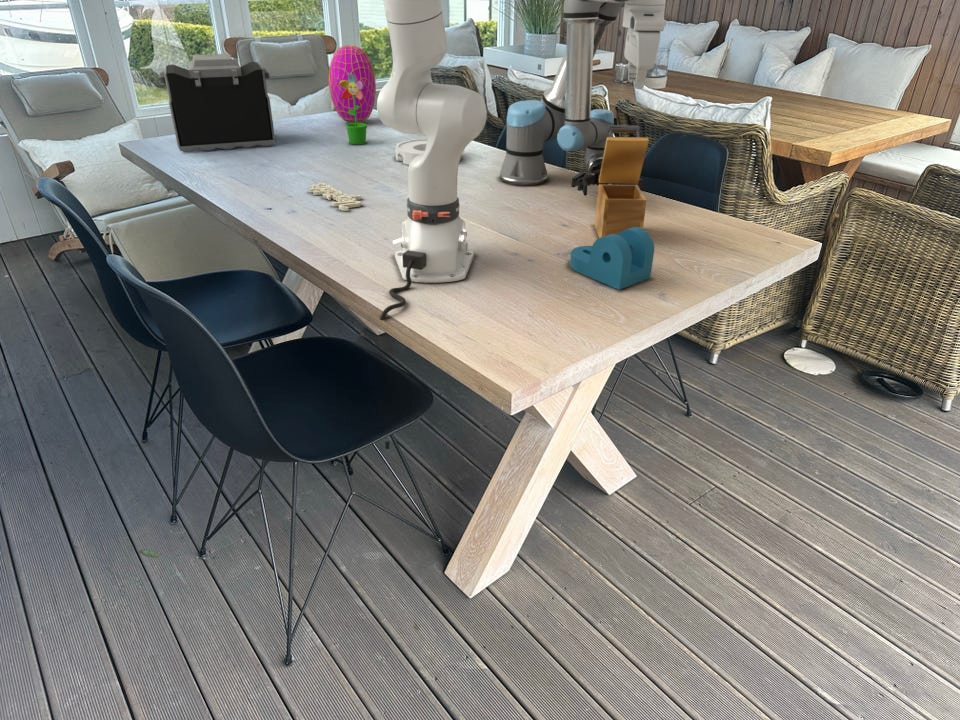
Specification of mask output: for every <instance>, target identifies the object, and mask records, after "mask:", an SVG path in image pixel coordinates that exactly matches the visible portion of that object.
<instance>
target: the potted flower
mask: <svg viewBox="0 0 960 720" xmlns="http://www.w3.org/2000/svg"><path fill="white" fill-rule="evenodd" d="M348 78H349V81H346V80H342V81H341V82H340V83H339V84H340V85H341V86H342V87H343V88H346V89H347V90H345V91H344V93H343V94H342V97H341V99H348V98H350V97H351V96H352V95H353V100H354V110H349V111H348V112H349V114H351V115H355V123H349V122H348V123H347V124H346V125H345V128H346V131H347V136H348V141H349V144H352V145H363V144H366V143H367V129H368V124H367V123H366V122H365V123H364V122H361V123H357V116H356V110H358V109H359V106H356V103H355V95H356V97H357V98H358V99H359V100H362V98H363V93H362V92H361V91H360V90H361V89H363V84H362V82H361V81H358V82H357V83H356V78H355V76H354V75H352V74H350V73H348Z"/></svg>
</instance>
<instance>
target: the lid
mask: <svg viewBox="0 0 960 720" xmlns="http://www.w3.org/2000/svg"><path fill="white" fill-rule="evenodd" d="M607 133H609V137H607V139H606V144H605V150H604V155H603V160H602V166H601V171H600V176H599V183H615V184H638V182H639V178H640V179H641V173H642V171H643V170H642V169H643V166H644V162H645V158H646V153H647V150H648V145H649V142H650V140H649V137H642V136H640V125H623V124H620V125H619V124H614V125H608V127H607ZM612 133H613V134H635V136H634V137H633V136H613V134H612Z"/></svg>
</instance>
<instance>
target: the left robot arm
mask: <svg viewBox="0 0 960 720" xmlns="http://www.w3.org/2000/svg"><path fill="white" fill-rule="evenodd" d="M382 1H383V7H384V14H385V20H386V24H387V29H388V34H389V40H390V46H391V55H392V69H391V74H390V76H389V79H388V81H387V82H386V83H385V84H384V85H383V86H382V88H381V89H380V91H379V93H378V96H377V101H376V110H377V114H378V118H379V120H380V122H381V123H382V124H383V125H384V126H386V127H388V128H390V129H392V130H394V131H396V132H398V133H402V134H406V135H407V134H408V135H412V136H413V135H414V136H420V137H425V139H427V144H426V149H425V152H423V153H421V154H419V155H418V156H416V157H415V158H414V159H413V160H412V161H411V162H410V164H409V165H408V168H407V184H408V186H407V187H408V198H407V199H406V211H407V213H406V214H407V217H406V218H405V219H404V220H403V221H402V223H401V231H402V237H399V238H397V239H395V240H392V244H393V245H395V244H398V243H401V244H400V247H401V249H400V250H397V251H395V252H394V259H395V262H396V264H397V267H398V269H399V272H400V274H401V277H402V279H403V280H405V281H406V284H405V285H404V286H402V287H393V288H390V290H389V295H390V297H392V298H394V299H396V300H398V301H400V302H398V303H397V302H396V303H394V304H391V305H388V306H387V307H385V308H384V309H383V310H382V312H381V314H380V317H379V320H380V321H384V320H385V319H386V317H387V315H388V314H389V312H391V311H393V310H396V309H399V308H403V307H404V306H405V305H406V303H407V302H406V301H407V300H406V299H405V297H403V296H402V295H399V294H397V293H400V292H404V291H407V290H409V289H410V288H411V286H412V282H414V283H431V284H433V283H435V284H437V283H451V282H457V281H461V280H464V279H466V277H467V274H468V273H469V269H470V267H471V265H472V262H473V260H474V257H475V251H473V250H471V249H468V245H469V243H468V242H467V241H466V238H467V236H468V232H467V231H466V221H465V220H464V219H463V218H461V216H460V208H461V207H460V206H461V205H460V198H459V197H458V175H459V174H458V173H459V166H460V160H461V159H460V158H462V155H463V153H464V152H465V150H466V148H467V147H468V145H469V144H470V143H471V142H472V141H474V140H475V139H477V138H478V137H479V136H480V134H481V133H482V132H483V131H484V128H485V126H486V123H487V118H488V112H487V111H488V110H487V105H486V103H485V100H484V98H483V96H482V95H481V94H480V93H479V92H477V91H474V90H472V89H470V88H466V87H464V86H461V85H454V84H443V83H436V82H434V81H433V80H432V69H433V68H434V67H436V66H437V65H439V64H440V63H441V62H442V61H443V60H444V58H445V56H446V54H447V50H448V41H447V34H446V27H445V22H444V14H443V7H442V1H441V0H382ZM580 1H584V2H592V1H598V2H610V3H621V2H625V5H624V7H623V14H622V15H623V16H622V23H621V24H622V28H626V29H627V30H626V36H625V37H626V38H625V44H624V50H623V51H624V52H623V54H624V59H625V60H627V62H628V63H627V64H628V65H627V66H628V67H627V68H628V70H627V71H628V76H627V81H628V82H629V83H634V88H635V89H636V90H643V89H644V87H645V81H646V78H647V75H648V70H653V69H654V67H655V65H656V61H657V57H658V53H659V52H658V51H659V48H660V47H659V46H660V43H661V35H662V34H661V32H664V30H665V26H666V20H665V13H666V12H665V10H666V3H667V1H666V0H580ZM384 444H385V445H384V446H385V450H389V449H391V446H390V440H387V441H385V442H384Z"/></svg>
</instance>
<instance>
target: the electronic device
mask: <svg viewBox="0 0 960 720" xmlns="http://www.w3.org/2000/svg"><path fill="white" fill-rule="evenodd" d="M187 66H188V68H187V69H186V68H184V67H181V66H179V65H176V64H165V66H164V71H161V72H159V83H161V84H165V85H166V89H167V94H168V107H169V111H170V115H171V120H172V125H173V130H174V135H175V140H176V144H177V148H178V150H179V152H183V153H192V152H194V151H198V150H202V151H204V152H209V151H213V150H215V149H222V150H233V149H235V148H236V147H238V148H239V147H242V148H245V149H247V148H251V149H252V148H253V147H255V146H262V147H272V146H273V145H275V144H276V135H275V134H276V133H275V128H274V119H273V114H272V105H271V99H270V96H269V95H268V88H267V87H268V85H267V79H270V78H271V76H270V72H269V71H268V70H267V68H265V67H262V66H261V64H260V63H259V62H258V61H249V62H248V63H245V64H244V65H242V66H240V64H239V63H238V61H237V60H235V59H233V58H232V56H231V54H230V53H217V54H211V55H210V54H209V55H208V54H207V55H206V54H203V53H202V54H193V55H192V59H191V60H190V61H188V62H187Z"/></svg>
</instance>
